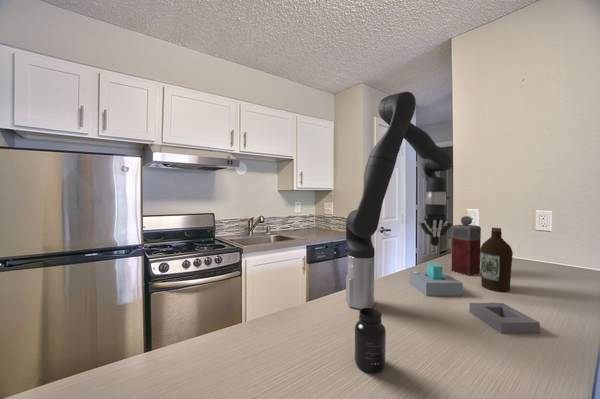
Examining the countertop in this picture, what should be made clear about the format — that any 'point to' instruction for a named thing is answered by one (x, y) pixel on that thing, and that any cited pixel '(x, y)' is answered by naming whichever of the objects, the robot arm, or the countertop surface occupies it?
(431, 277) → the plug
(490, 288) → the brown glass bottle
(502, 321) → the holster
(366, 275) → the robot arm
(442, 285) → the block
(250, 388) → the countertop surface
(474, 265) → the red canister
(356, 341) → the supplement bottle
